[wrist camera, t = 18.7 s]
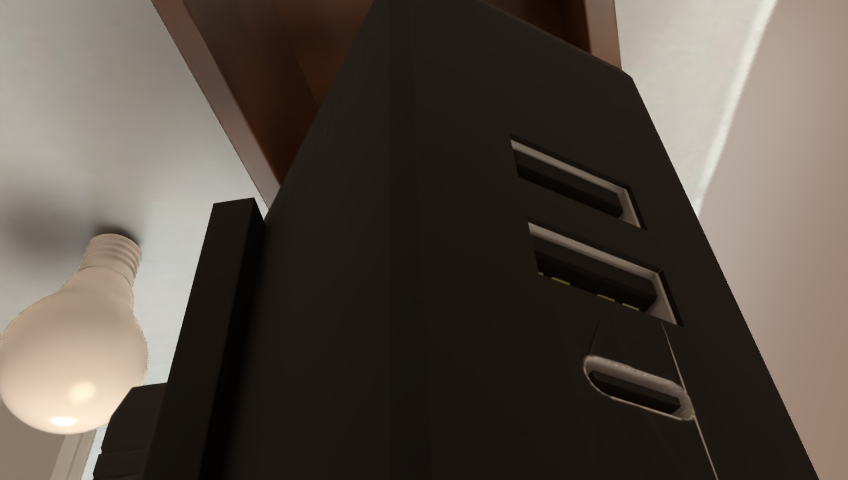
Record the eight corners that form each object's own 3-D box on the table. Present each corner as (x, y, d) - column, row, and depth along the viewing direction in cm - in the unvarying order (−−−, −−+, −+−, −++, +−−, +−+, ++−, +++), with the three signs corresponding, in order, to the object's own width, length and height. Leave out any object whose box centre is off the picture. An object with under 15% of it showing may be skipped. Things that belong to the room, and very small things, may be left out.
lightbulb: (204, 263, 41) (160, 440, 33) (109, 297, 43) (46, 474, 35) (128, 181, 37) (57, 360, 29) (27, 222, 38) (-67, 403, 30)
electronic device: (623, 50, 13) (955, 752, 5) (370, 380, 18) (359, 929, 11) (399, -63, 11) (422, 676, 4) (203, 332, 17) (63, 926, 10)
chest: (191, -138, 27) (130, -33, 21) (541, -252, 25) (596, -176, 19) (341, 186, 38) (331, 322, 31) (595, 125, 36) (642, 256, 29)
